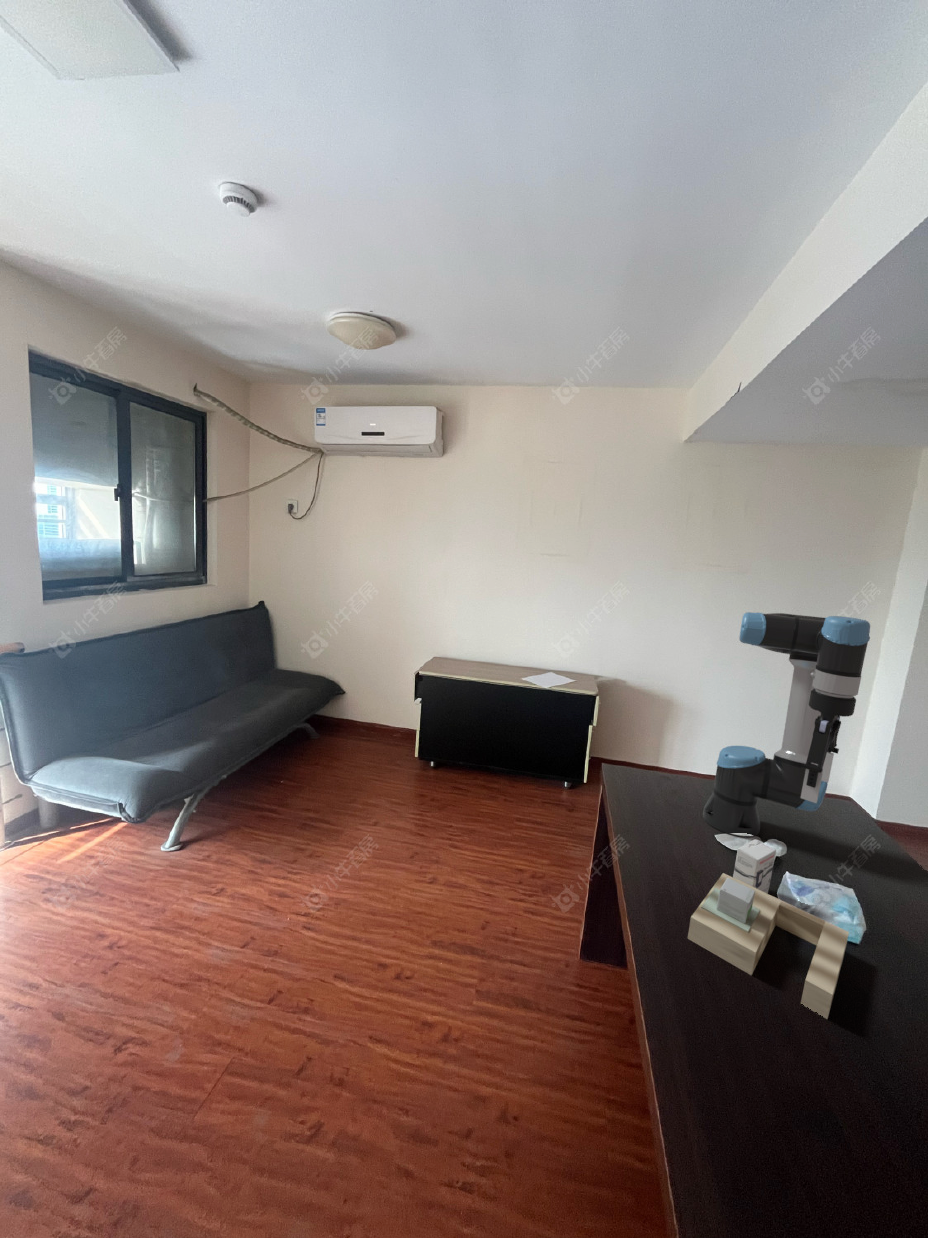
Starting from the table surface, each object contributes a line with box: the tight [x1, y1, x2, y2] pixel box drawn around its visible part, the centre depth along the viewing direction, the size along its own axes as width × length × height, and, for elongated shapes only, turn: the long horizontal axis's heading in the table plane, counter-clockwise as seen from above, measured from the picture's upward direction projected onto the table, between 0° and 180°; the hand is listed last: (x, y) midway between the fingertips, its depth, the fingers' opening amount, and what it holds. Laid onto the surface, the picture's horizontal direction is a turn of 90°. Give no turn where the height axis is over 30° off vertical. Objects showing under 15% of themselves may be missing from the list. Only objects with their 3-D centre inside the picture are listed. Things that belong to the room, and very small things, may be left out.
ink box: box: [732, 839, 777, 894], centre depth 118 cm, size 8×5×12 cm, turn 123°
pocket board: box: [687, 872, 850, 1020], centre depth 103 cm, size 21×24×5 cm
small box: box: [717, 878, 755, 923], centre depth 105 cm, size 6×6×5 cm
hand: (814, 789), depth 105 cm, fingers open, 13 cm apart
